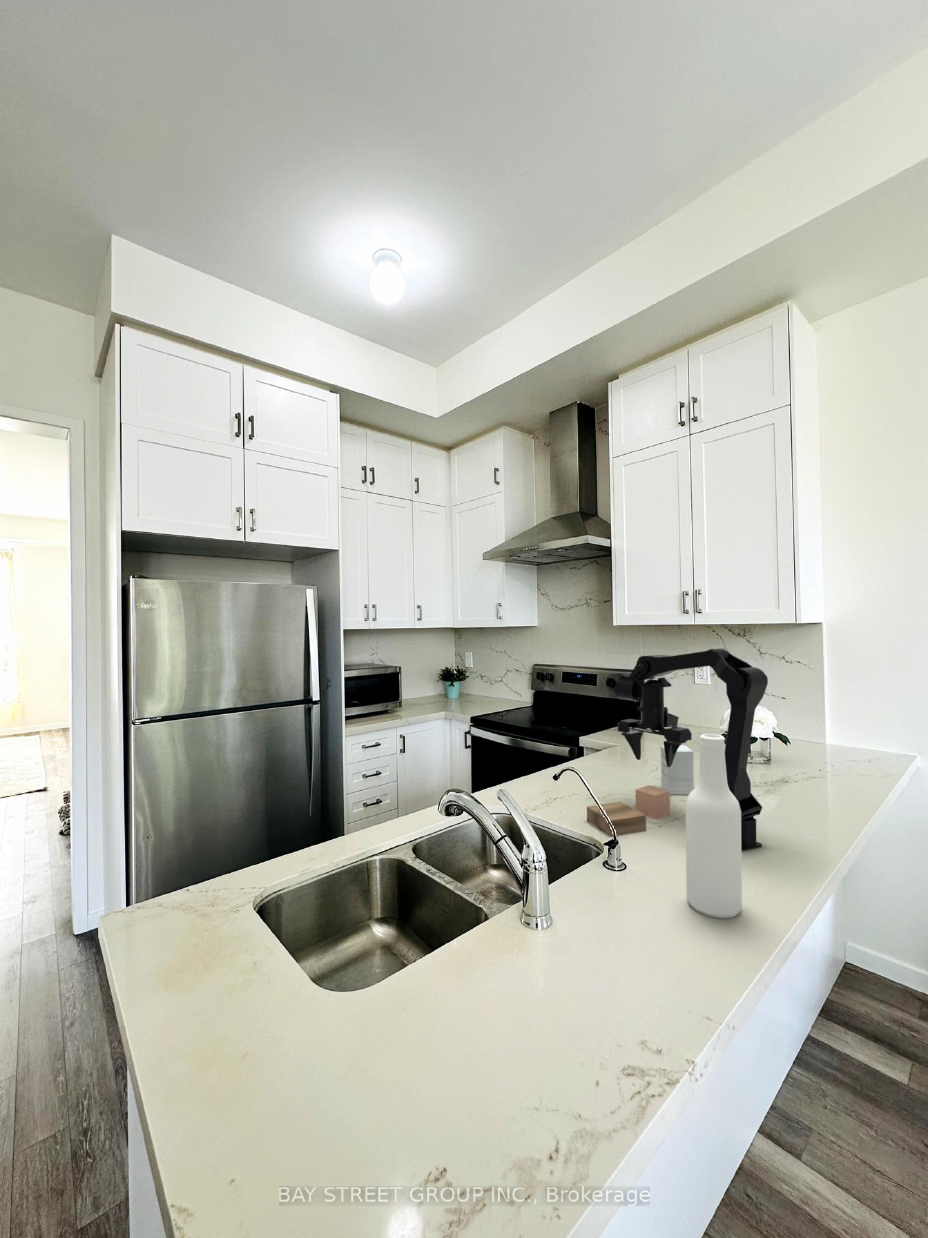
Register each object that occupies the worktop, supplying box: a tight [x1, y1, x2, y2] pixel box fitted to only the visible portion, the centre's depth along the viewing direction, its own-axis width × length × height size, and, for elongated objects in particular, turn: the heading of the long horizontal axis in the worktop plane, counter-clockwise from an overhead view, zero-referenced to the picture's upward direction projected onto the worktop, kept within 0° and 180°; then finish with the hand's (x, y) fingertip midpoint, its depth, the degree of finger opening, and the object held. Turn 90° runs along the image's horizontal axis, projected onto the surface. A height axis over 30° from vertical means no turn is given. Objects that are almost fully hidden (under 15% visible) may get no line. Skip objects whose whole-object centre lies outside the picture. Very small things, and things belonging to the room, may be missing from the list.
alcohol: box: [685, 733, 743, 919], centre depth 93 cm, size 9×9×30 cm
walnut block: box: [586, 801, 647, 837], centre depth 130 cm, size 10×10×4 cm
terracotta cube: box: [635, 784, 671, 820], centre depth 138 cm, size 6×6×6 cm
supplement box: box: [660, 744, 695, 796], centre depth 155 cm, size 7×7×13 cm
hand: (653, 763), depth 138 cm, fingers open, 9 cm apart
